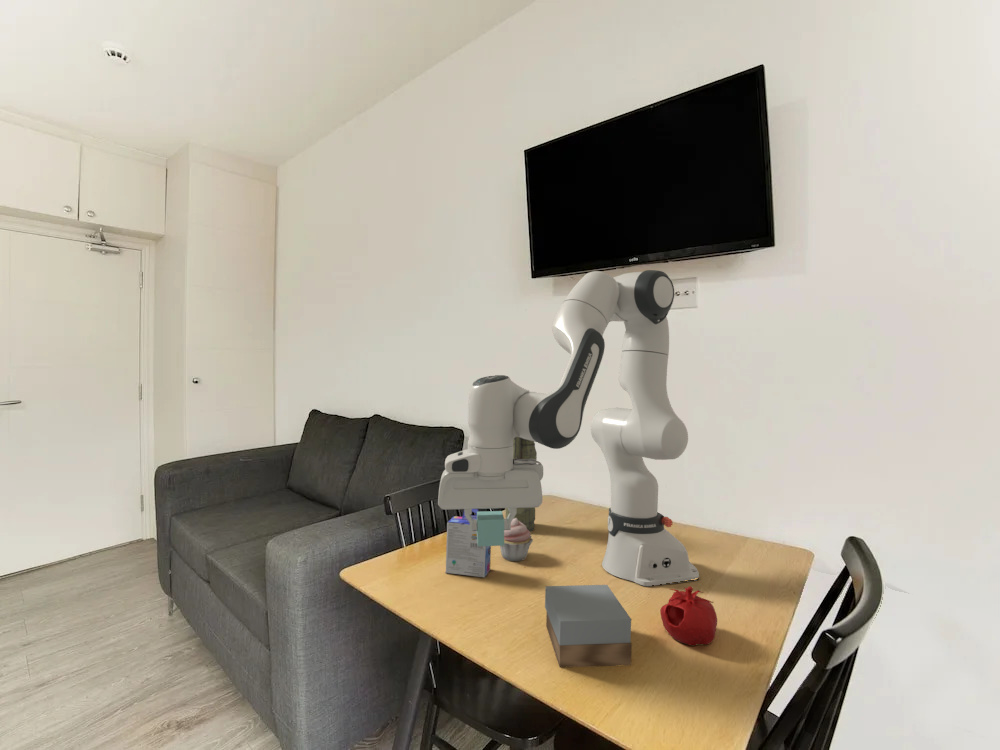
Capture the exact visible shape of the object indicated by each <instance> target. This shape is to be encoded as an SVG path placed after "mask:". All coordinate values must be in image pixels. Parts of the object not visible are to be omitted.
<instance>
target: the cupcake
mask: <svg viewBox="0 0 1000 750" xmlns="http://www.w3.org/2000/svg"><path fill="white" fill-rule="evenodd" d="M533 541H534V539H533V538H532V535H531V531H529V530H528V529H527V527H526V526H525V525H524V524H523V523H521V522H520V521H518V519H517V518H515V519H513V520H512V522H511V530H504V546H500V553H501V557H502V558H503V559H504V560H506V561H509V562H520V561H524V560H526V558H527V556H528V553H529V550H530V549H529V548H530V546H531V544H532V543H533Z"/></svg>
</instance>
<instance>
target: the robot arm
mask: <svg viewBox="0 0 1000 750" xmlns="http://www.w3.org/2000/svg"><path fill="white" fill-rule="evenodd" d="M674 299H675V287H674V284H673V282H672V280H671V278H670V277H669V276H668V274H667V273H666V272H665V271H662V270H656V269H647V270H644V271H633V272H632V271H631V272H628V273H627V272H625V273H622V274H619V275H617V276H616V275H615V276H612V275H610V273H609V274H608V273H607V272H604V271H600V270H598V271H597V270H594V271H589V272H587V273H586V274H585V275H584V276H582V277H581V278H580V279H579V281H578V282H577V283H576V284H575V285H574V286H573V288H572V289H571V290H570V292H569V293H568V294H567V295H566V297H565V298H564V300H563V301H562V303H561V305H560V307H559V308H558V309H557V311H556V313H555V315H554V318H553V321H552V325H551V329H552V333H553V337H554V339H555V340H556V342H557V343H558V345H559V346H560V347H562V349H563V350H565V351H566V353H569V354H570V356H569V357H570V358H569V360H568V362H567V364H566V368H565V370H564V372H563V375H562V376H561V377H562V378H561V380H560V382H559V384H558V386H557V387H556V388H555V389H553V391H551V392H548V393H541V392H536V391H530V390H529V389H526V388H524V387H522V386H520V385H519V384H517V383H515V382H514V381H513V380H511V377H510V376H507V375H502V374H501V375H500V374H498V375H497V374H496V375H490V376H489V375H487V376H483V377H480V378H477V379H476V380H475V381H473V383H472V385H471V386H470V389H469V390H470V391H469V393H468V394H469V396H468V405H467V424H468V427H469V436H468V437H469V438H468V440H467V449H463V450H460V451H457V452H454V453H451V454H449V455H447V456H446V457H445V459H444V460H445V461H444V470H443V471H442V474H441V477H440V481H439V487H438V498H437V505H438V506H439V508H440V509H441V510H463V513H464V514H465V516H466V518H467V519H468V521H469V523H470V531H478V528H477V526H478V522H477V520H473V518H472V516H471V515H473V512H472V509H481V510H482V509H484V510H485V509H486V510H487V509H489V510H490V509H506V508H508V510H509V515H508V517H507V519H506V518H504V530H511V522H512V520H513V518H514V517H515V515H516V513H517V508H532V507H535V508H539V507H540V506H541V505H542V503H543V488H542V482H541V481H542V479H543V477H544V466H543V464H542V462H540V461H538V460H536V459H513V439H514V438H515V437H520V438H523V439H526V440H530V441H534V443H537V444H540V445H542V446H545V447H548V448H550V449H553V450H554V449H555V450H556V449H557V450H558V449H563V448H565V447H567V446H568V445H570V444H571V443H572V442H573V441H574V440H575V439H576V437H577V436H578V434H579V432H580V431H581V430H580V429H581V427H582V422H583V417H584V412H585V407H586V403H587V400H588V399H589V395H590V393H591V390H592V387H593V384H594V382H595V379H596V376H597V374H598V373H599V372H598V371H599V370H600V366H601V363H602V361H603V357H604V352H605V345H606V344H605V339H604V337H603V336H604V333H605V331H606V329H607V327H608V325H609V324H610V322H623V324H624V328H625V331H624V336H623V341H622V347H621V355H620V364H619V372H618V373H619V375H618V382H619V385H620V387H621V388H622V389H623V390H624V391H625V392H626V393H628V395H629V398H630V400H631V407H632V409H631V408H630V409H629V408H623V407H612V408H605V409H601V410H599V411H597V412H596V414H595V415H594V416H593V418H592V419H591V423H590V434H591V437H592V438H593V441H594V442H595V443H596V444H597V445H598V447H599V448H600V450H601V452H602V453H603V456H604V458H605V459H604V460H605V462H606V464H607V467H608V471H609V478H610V507H609V509H608V516H607V531H608V537H607V545H606V548H605V549H606V550H605V553H604V556H603V559H602V562H601V567H602V568H603V569H604V570H605V571H606V572H607V573H609V574H610V575H612V576H615V577H617V578H620V579H623V580H627V581H631V582H634V583H636V584H638V585H641V586H644V587H653V586H652V585H654V586H659V585H660V584H662V585H667V584H666V583H670V584H673V583H672V582H678V583H681V582H680V581H685V580H691V579H695V578H698V577H699V578H700V572H699V570H698V568H697V567H696V566H695V565H694V564H693V563H691V562H690V558H689V554H688V551H687V548H686V547H685V545H684V544H683V543H682V542H681V541H680V540H679V539H678V538H677V537H675V536H674V535H673V534H672V533H670V532H669V530H667V529H666V528H671V527H672V526H673V524H674V523H673V522H674V521H673V520H672V519H671V518H669V517H668V516H664V515H663V514H662V513H660V512H659V511H658V509H659V507H658V506H659V505H658V503H659V502H658V501H659V483H658V479H657V478H656V477H655V476H654V474H653V473H652V472H650V470H649V469H648V468H647V465H646V464H645V462H644V459H643V458H647V459H650V460H656V461H657V460H661V461H663V460H676V459H678V458H680V457H681V455H683V453H684V452H685V450H686V449H687V446H688V442H689V434H688V433H689V432H688V429H687V427H686V424H685V423H684V421H683V420H681V418H680V417H679V416H678V415H677V414H676V413H675V411H674V409H673V407H672V404H671V402H670V400H669V395H668V389H667V376H668V364H669V355H670V354H669V353H670V327H669V320H668V318H667V316H668V314H669V312H670V310H671V308H672V305H673V304H674ZM665 527H666V528H665ZM660 586H661V585H660Z"/></svg>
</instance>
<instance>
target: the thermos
mask: <svg viewBox="0 0 1000 750" xmlns="http://www.w3.org/2000/svg"><path fill="white" fill-rule="evenodd" d="M537 453H538V452H537V449H536V442H534V441H530V440H526V439H523V438H520V437H515V438H514V439H513V459H536V461H538V460H537V458H538V457H537V456H538V455H537ZM508 515H509V510H508V508H505V519H507V517H508ZM515 518H517V519H518V521H520V522H521V523H523V524H524V525H525V526H526V527H527V529H528V530H529V531H530V532H532V531H534V529H535V521H536V507H532V508H517V513H516V515H515V517H514V518H513V519H515Z"/></svg>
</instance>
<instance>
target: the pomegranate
mask: <svg viewBox="0 0 1000 750" xmlns="http://www.w3.org/2000/svg"><path fill="white" fill-rule="evenodd" d="M684 589H685V590H684V591H683V590H678V589H675V588H674V589H671V588H669V590H670V591H674V592H673V593H672V595H671V597H670V598H669V599H668V602H667V603H666V604H664V605H662V606H661V607H660V618H661V621H662V624H663V628H664V630H666V632H667V633H668V635H670V636H671V637H672V638H673V639H674V640H676V641H678V642H680V643H682V644H684V643H685V644H684V645H687V644H688V645H687V646H691V645H696V644H705V645H704V646H706V644H707V645H709V644H712V642H713V641H714V639H715V636H716V631H717V627H718V616H717V615H718V614H717V613H716V609H715V607H714V606H713V603H714V601H711V600H708V599H706V598H704V597H701V596H699V595H698V593H701V594H703V593H704V591H701V590H699V589H697V590H696V591H694V587H692V586H691V585H690V586H687V587H684ZM693 591H694V592H693ZM696 646H697V645H696Z"/></svg>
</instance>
